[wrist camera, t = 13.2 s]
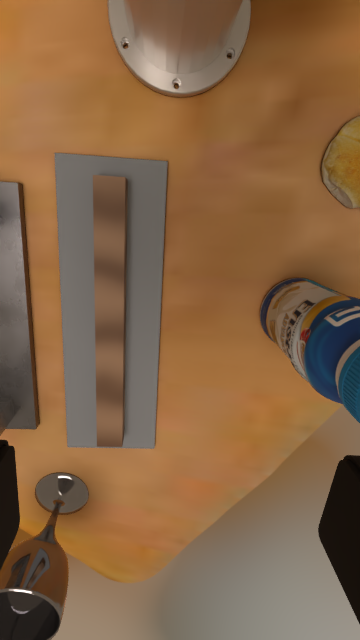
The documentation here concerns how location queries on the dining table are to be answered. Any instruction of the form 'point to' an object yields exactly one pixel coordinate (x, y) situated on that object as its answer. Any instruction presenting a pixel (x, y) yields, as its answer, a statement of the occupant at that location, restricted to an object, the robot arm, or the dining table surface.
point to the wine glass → (40, 567)
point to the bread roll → (344, 165)
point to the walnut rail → (110, 305)
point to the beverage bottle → (317, 337)
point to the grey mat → (140, 292)
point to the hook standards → (15, 317)
